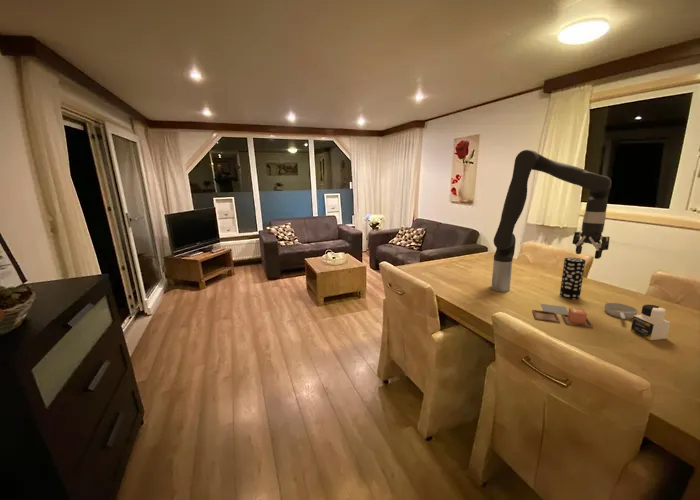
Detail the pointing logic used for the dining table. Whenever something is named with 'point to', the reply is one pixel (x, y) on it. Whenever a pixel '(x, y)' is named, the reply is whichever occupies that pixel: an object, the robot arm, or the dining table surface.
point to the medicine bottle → (651, 323)
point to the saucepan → (624, 310)
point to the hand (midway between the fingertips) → (587, 256)
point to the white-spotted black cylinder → (572, 278)
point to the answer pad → (554, 309)
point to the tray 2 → (567, 322)
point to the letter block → (577, 316)
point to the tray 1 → (545, 316)
